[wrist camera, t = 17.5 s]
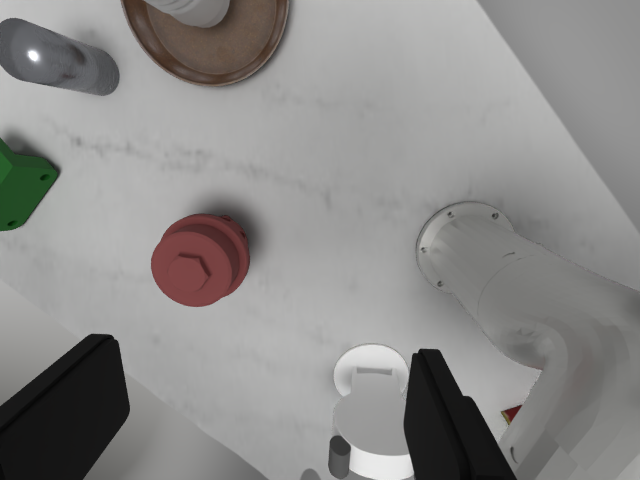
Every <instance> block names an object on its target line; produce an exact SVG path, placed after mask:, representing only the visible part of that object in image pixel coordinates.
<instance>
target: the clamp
mask: <svg viewBox="0 0 640 480" xmlns="http://www.w3.org/2000/svg"><path fill="white" fill-rule="evenodd" d="M57 175H58V174H57V172H56V171H55V169H54V168H53V167H52V166H51V165H50V164H49V163H48V162H47V161H46V159H44V158H41V157H33V156H25V155H17V154H14V153H13V151H12V150H11V149H10V148H9V147H8V146H7V145H6V143H5V142H4V141H3V140H2V139H1V138H0V231H8V230H13V229H16V228H18V227H20V226H21V225H23V224H24V222H25V221H26V220H27V218H28V217H29V215H30V214H31V213H32V211H33V210H34V208H35V207H36V206H37V204H38V203H39V201H40V200H41V199H42V197H43V196H44V194H45V193H46V192H47V190H48V189H49V187H50V186H51V185H52V183H53V182H54V181H55V179H56V178H57Z"/></svg>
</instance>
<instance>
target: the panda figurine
mask: <svg viewBox="0 0 640 480" xmlns="http://www.w3.org/2000/svg"><path fill="white" fill-rule="evenodd" d="M408 378H409V372H408V367H407V365H406V362H405V360H404V359H403V357H402V356H401V355H400V354H399V353H398V352H397V351H395V350H394V349H392V348H390V347H388V346H385V345H382V344H375V343H368V344H362V345H358V346H355V347H353V348H351V349H349V350H348V351H346V352H345V353H344V354H343V355H342V356H341V357H340V358H339V360H338V361H337V363H336V366H335V369H334V382H335V386H336V388H337V390H338V391H339V393H340V394H341V395H342V396H343V398H341V399H340V400H339V401H338V403H337V404H336V406H335V407H334V412H333V426H332V438H331V440H330V448H329V462H328V467H329V471H330V473H331V474H332V475H333V476H334V477H336V478H338V479H343V478H345V477H346V476H347V475H348V473H349V469H351V470H352V471H353V472H355V473H357V474H359V475H361V476H364V477H368V478H372V479H377V480H401V479H405V478H408V477H410V476H411V475H413V474H414V470H413V466H412V462H411V458H410V454H409V450H408V446H407V442H406V438H405V434H404V427H403V421H404V413H405V406H406V400H404V399H403V397H402V392H403V391H404V389H405V388H406V385H407V383H408ZM414 479H415V480H416V478H415V474H414Z"/></svg>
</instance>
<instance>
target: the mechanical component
mask: <svg viewBox="0 0 640 480" xmlns="http://www.w3.org/2000/svg"><path fill="white" fill-rule="evenodd" d="M249 264H250V255H249V249H248V241H247V237H246V234H245V232H244V230H243V229H242V228H241V227H240V225H239V224H237V223H236V222H235V221H233V220H231V218H230V217H229V216H226V215H224V216H222V217H217V216H214V215H210V214H194V215H190V216H187V217H184V218H183V219H181V220H179V221H177V222H175V223H174V224H172V225H171V226H170V227H169V228H168V229H167V230H166V232H165V233H164V235H163V237H162V239H161V242H160V243H159V244H158V245H157V247H156V248H155V250H154V252H153V255H152V259H151V269H152V274H153V277H154V279H155V282H156V283H157V285H158V287H159V288H160V289H161V290H162V292H163V293H164V294H165V295H167V296H168V297H169V298H171V299H172V300H174V301H176V302H177V303H180V304H183V305H186V306H191V307H202V306H207V305H210V304H213V303H215V302H216V301H218V300H219V299H220V298H223V297H225V296H227V295H229V294H231V293H232V292H234V291H235V290H236V289H237V288H238V287H239V286H240V284H241V283H242V281H243V280H244V278H245V276H246V274H247V272H248V269H249Z"/></svg>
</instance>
